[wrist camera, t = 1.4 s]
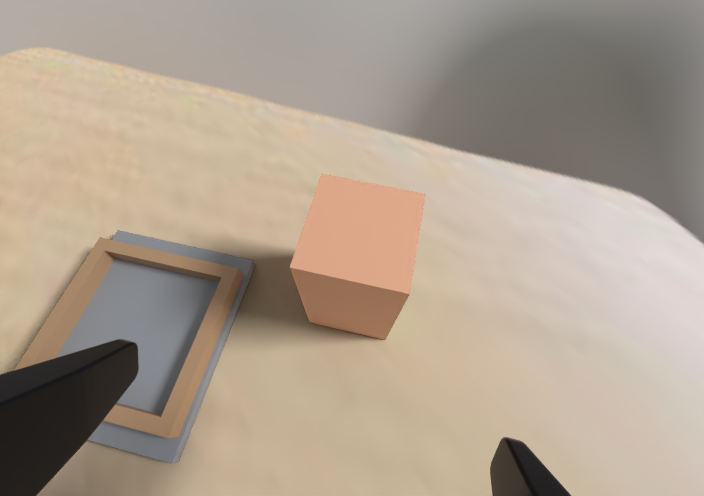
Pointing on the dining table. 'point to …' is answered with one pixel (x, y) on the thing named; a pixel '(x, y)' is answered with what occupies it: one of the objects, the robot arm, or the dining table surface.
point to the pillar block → (357, 255)
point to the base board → (149, 332)
